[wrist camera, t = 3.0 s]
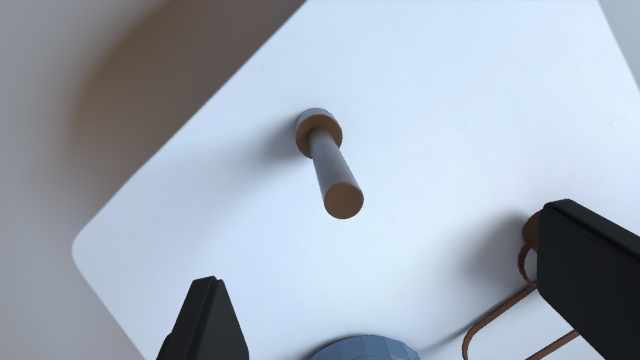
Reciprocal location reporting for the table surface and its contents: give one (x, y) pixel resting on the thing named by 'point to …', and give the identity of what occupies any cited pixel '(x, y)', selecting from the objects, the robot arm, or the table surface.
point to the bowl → (367, 350)
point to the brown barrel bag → (521, 295)
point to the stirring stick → (328, 162)
